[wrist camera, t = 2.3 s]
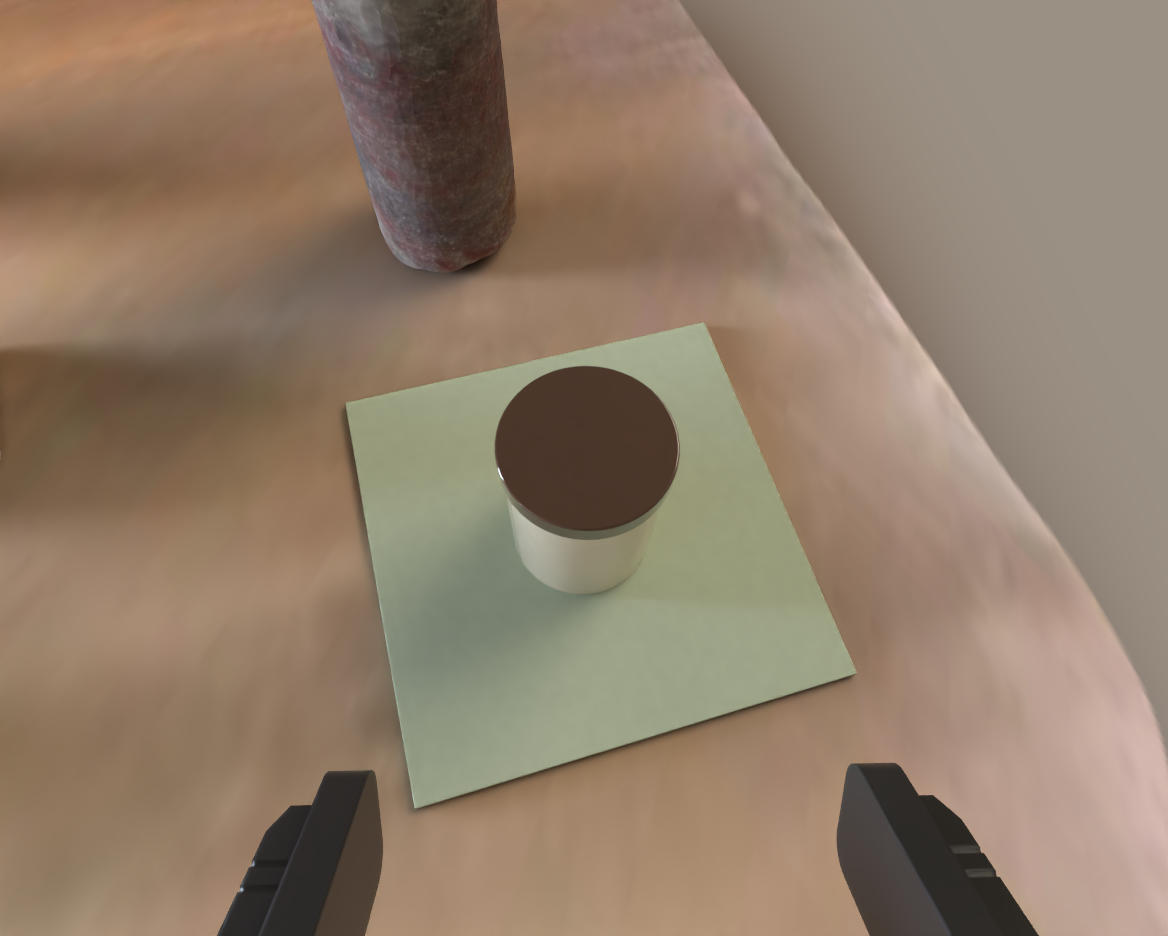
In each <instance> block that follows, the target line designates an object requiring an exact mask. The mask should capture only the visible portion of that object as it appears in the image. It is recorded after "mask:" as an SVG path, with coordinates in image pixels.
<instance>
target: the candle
mask: <svg viewBox="0 0 1168 936" xmlns="http://www.w3.org/2000/svg"><path fill="white" fill-rule="evenodd" d="M312 3H313V6H314V9H315V12H316V16H317V20H318V23H319V26H320V29H321V32H322V35H323V39H324V42H325V46H326V49H327V53H328V57H329V60H330V63H331V67H332V70H333V73H334V76H335V80H336V83H337V86H338V89H339V92H340V96H341V99H342V102H343V105H344V109H345V113H346V116H347V120H348V123H349V127H350V130H351V134H352V137H353V141H354V144H355V147H356V151H357V154H358V157H359V161H360V164H361V167H362V171H363V174H364V177H365V181H366V184H367V188H368V191H369V194H370V196H371V199H372V203H373V207H374V210H375V213H376V216H377V219H378V222H379V226H380V229H381V231H382V233H383V236H384V238H385V240H386V242H387V244H388V247H389V249H390V250H391V252H392V253H393V254H394V256H395V257H396V258H397V259H398V260H400V261H401V262H403V263H404V264H406V265H408V266H410V267H412V268H416V269H421V270H429V271H434V272H441V273H451V272H454V271H456V270H459V269H461V268H462V267H464V266H465V265H467V264H471V263H474V262H476V261H477V260H480V259H482V258H484V257H486V256H489V255H491V254H493V253H495V252H497V251H498V249H499V248H500V247H501V245H502V244H503V243H504V242H505V241H506V240H507V239H508V238H509V236H510V234H511V231H512V227H513V225H514V223H515V218H516V192H515V180H514V167H513V156H512V146H511V138H510V130H509V121H508V110H507V99H506V89H505V78H504V68H503V60H502V52H501V42H500V33H499V25H498V16H497V1H496V0H312Z"/></svg>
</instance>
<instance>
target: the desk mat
mask: <svg viewBox="0 0 1168 936" xmlns="http://www.w3.org/2000/svg"><path fill="white" fill-rule="evenodd" d="M575 366H597V367H604V368H609V369H613V370H616V371H619V372H622V373H625V374H627V375H629V376H632V377H633V378H635V379H637V380H638V381H640V382H642V383H643V384H645V385H646V386H647V387H649V388H650V389H651V390H652V391H653V392H654V393H655V394H656V395H657V396H658V397H659V398H660V399H661V400H662V402H663V403H664V404H665V405H666V407H667V409H668V410H669V412H670V414H671V415H672V418H673V420H674V422H675V424H676V428H677V431H678V435H679V442H680V459H679V465H678V469H677V472H676V475H675V478H674V481H673V485H672V488H671V490H670V492H669V494H668V496H667V498H666V499H665V501H664V502H663V504H662V505H661V508H660V511H659V515H658V518H657V521H656V524H655V527H654V531H653V534H652V537H651V540H650V543H649V546H648V549H647V553H646V555H645V557H644V559H643V561H642V562H641V564H640V565H639V567H638V568H637V569H636V571H635V572H634V573H633V574H632V575H631V576H630V577H629V578H627V579H626V580H625V581H624V582H622V583H620V584H619V585H617V586H615V587H613V588H611V589H609V590H606V591H603V592H599V593H593V594H571V593H566V592H562V591H559V590H556V589H554V588H552V587H550V586H548V585H546V584H544V583H543V582H541V581H540V580H538V579H537V578H536V577H535V576H534V575H533V574H532V573H531V572H530V571H529V570H528V569H527V568H526V566H525V565H524V563H523V562H522V560H521V559H520V556H519V554H518V552H517V549H516V546H515V543H514V537H513V531H512V525H511V520H510V514H509V508H508V503H507V497H506V494H505V492H504V490H503V487H502V485H501V482H500V479H499V476H498V471H497V466H496V460H495V453H494V442H495V435H496V430H497V427H498V423H499V421H500V418H501V416H502V414H503V412H504V410H505V409H506V407H507V406H508V404H509V402H510V401H511V400H512V399H513V398H514V397H515V395H516V394H517V393H518V392H519V391H521V390H522V389H523V388H524V387H525V386H526V385H528V384H529V383H531V382H532V381H533V380H535V379H537V378H539V377H541V376H543V375H545V374H547V373H550V372H552V371H555V370H559V369H563V368H568V367H575ZM345 404H346V410H347V416H348V422H349V428H350V433H351V439H352V445H353V451H354V457H355V463H356V468H357V474H358V480H359V486H360V492H361V498H362V504H363V509H364V515H365V521H366V527H367V533H368V539H369V544H370V550H371V556H372V562H373V568H374V574H375V579H376V585H377V591H378V597H379V603H380V609H381V614H382V620H383V626H384V632H385V638H386V644H387V649H388V655H389V661H390V667H391V673H392V679H393V684H394V690H395V696H396V702H397V708H398V714H399V719H400V725H401V731H402V737H403V743H404V749H405V754H406V760H407V766H408V772H409V778H410V784H411V789H412V795H413V801H414V807H415V809H418V808H421V807H425V806H428V805H431V804H434V803H438V802H441V801H444V800H447V799H451V798H454V797H457V796H460V795H464V794H467V793H470V792H474V791H477V790H480V789H483V788H487V787H490V786H493V785H496V784H500V783H503V782H506V781H509V780H513V779H516V778H519V777H522V776H526V775H529V774H532V773H535V772H539V771H542V770H545V769H549V768H552V767H555V766H558V765H562V764H565V763H568V762H571V761H575V760H578V759H581V758H584V757H588V756H591V755H594V754H597V753H601V752H604V751H607V750H610V749H614V748H617V747H620V746H624V745H627V744H630V743H633V742H637V741H640V740H643V739H646V738H650V737H653V736H656V735H659V734H663V733H666V732H669V731H672V730H676V729H679V728H682V727H685V726H689V725H692V724H695V723H699V722H702V721H705V720H708V719H712V718H715V717H718V716H721V715H725V714H728V713H731V712H734V711H738V710H741V709H744V708H747V707H751V706H754V705H757V704H760V703H764V702H767V701H770V700H774V699H777V698H780V697H783V696H787V695H790V694H793V693H796V692H800V691H803V690H806V689H809V688H813V687H816V686H819V685H822V684H826V683H829V682H832V681H835V680H839V679H842V678H845V677H849V676H852V675H855V674H857V672H856V670H855V667H854V665H853V663H852V661H851V658H850V656H849V654H848V651H847V649H846V647H845V645H844V642H843V640H842V638H841V635H840V633H839V631H838V628H837V626H836V624H835V622H834V619H833V617H832V615H831V612H830V610H829V608H828V605H827V603H826V601H825V599H824V596H823V594H822V592H821V589H820V587H819V585H818V583H817V580H816V578H815V576H814V573H813V571H812V569H811V566H810V564H809V562H808V560H807V557H806V555H805V553H804V550H803V548H802V546H801V544H800V541H799V539H798V537H797V534H796V532H795V530H794V527H793V525H792V523H791V521H790V518H789V516H788V514H787V511H786V509H785V507H784V504H783V502H782V500H781V498H780V495H779V493H778V491H777V488H776V486H775V484H774V482H773V479H772V477H771V475H770V472H769V470H768V468H767V465H766V463H765V461H764V459H763V456H762V454H761V452H760V449H759V447H758V445H757V442H756V440H755V438H754V436H753V433H752V431H751V429H750V426H749V424H748V422H747V420H746V417H745V415H744V413H743V410H742V408H741V406H740V403H739V401H738V399H737V397H736V394H735V392H734V390H733V387H732V385H731V383H730V381H729V378H728V376H727V374H726V371H725V369H724V367H723V364H722V362H721V360H720V358H719V355H718V353H717V351H716V348H715V346H714V344H713V341H712V339H711V337H710V335H709V332H708V330H707V328H706V325H705V323H699V324H695V325H690V326H686V327H682V328H677V329H673V330H668V331H664V332H659V333H655V334H650V335H646V336H641V337H637V338H632V339H628V340H624V341H619V342H615V343H610V344H606V345H601V346H597V347H592V348H588V349H583V350H579V351H575V352H570V353H566V354H561V355H557V356H552V357H548V358H543V359H539V360H534V361H530V362H525V363H521V364H517V365H512V366H508V367H503V368H499V369H494V370H490V371H485V372H481V373H476V374H472V375H468V376H463V377H459V378H454V379H450V380H445V381H441V382H436V383H432V384H427V385H423V386H418V387H414V388H410V389H405V390H401V391H396V392H392V393H387V394H383V395H378V396H374V397H369V398H365V399H360V400H356V401H352V402H347V403H345Z"/></svg>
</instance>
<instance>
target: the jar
mask: <svg viewBox="0 0 1168 936" xmlns="http://www.w3.org/2000/svg"><path fill="white" fill-rule="evenodd" d="M494 453H495V460H496V466H497V471H498V476H499V479H500V482H501V485H502V487H503V490H504V492H505V494H506V497H507V503H508V508H509V514H510V520H511V525H512V531H513V537H514V543H515V546H516V549H517V552H518V554H519V556H520V559H521V560H522V562H523V563H524V565H525V566H526V568H527V569H528V570H529V571H530V572H531V573H532V574H533V575H534V576H535V577H536V578H537V579H538V580H540V581H541V582H543V583H544V584H546V585H548V586H550V587H552V588H554V589H556V590H559V591H562V592H566V593H571V594H593V593H599V592H603V591H606V590H609V589H611V588H613V587H615V586H617V585H619V584H620V583H622V582H624V581H625V580H626V579H627V578H629V577H630V576H631V575H632V574H633V573H634V572H635V571H636V569H637V568H638V567H639V565H640V564H641V562H642V561H643V559H644V557H645V555H646V553H647V549H648V546H649V543H650V540H651V537H652V534H653V531H654V527H655V524H656V521H657V518H658V515H659V511H660V508H661V505H662V504H663V502H664V501H665V499H666V498H667V496H668V494H669V492H670V490H671V488H672V485H673V481H674V478H675V475H676V472H677V469H678V465H679V459H680V442H679V435H678V431H677V428H676V424H675V422H674V420H673V418H672V415H671V414H670V412H669V410H668V409H667V407H666V405H665V404H664V403H663V402H662V400H661V399H660V398H659V397H658V396H657V395H656V394H655V393H654V392H653V391H652V390H651V389H650V388H649V387H647V386H646V385H645V384H643V383H642V382H640V381H638V380H637V379H635V378H633V377H632V376H629V375H627V374H625V373H622V372H619V371H616V370H613V369H609V368H604V367H597V366H575V367H568V368H563V369H559V370H555V371H552V372H550V373H547V374H545V375H543V376H541V377H539V378H537V379H535V380H533V381H532V382H531V383H529V384H528V385H526V386H525V387H524V388H523V389H522V390H521V391H519V392H518V393H517V394H516V395H515V397H514V398H513V399H512V400H511V401H510V402H509V404H508V406H507V407H506V409H505V410H504V412H503V414H502V416H501V418H500V421H499V423H498V427H497V430H496V435H495V442H494Z"/></svg>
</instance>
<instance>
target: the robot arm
mask: <svg viewBox="0 0 1168 936" xmlns="http://www.w3.org/2000/svg"><path fill="white" fill-rule="evenodd" d="M837 851H838V857H839V862H840V866H841V869H842V872H843V875H844V877H845V879H846V882H847V884H848V886H849V889H850V891H851V893H852V896H853V898H854V900H855V903H856V905H857V907H858V910H859V912H860V914H861V917H862V919H863V921H864V923H865V926H866V928H867V930H868V933H869V935H870V936H1039V935H1038V934H1037V932H1036V931H1035V929H1034V928H1033V926H1032V925H1031V923H1030V922H1029V920H1028V919H1027V917H1026V916H1025V914H1024V913H1023V911H1022V910H1021V908H1020V907H1019V905H1018V904H1017V902H1016V901H1015V899H1014V898H1013V896H1012V895H1011V893H1010V892H1009V890H1008V889H1007V887H1006V886H1005V884H1004V883H1003V881H1002V880H1001V878H1000V877H997V876H996V871H995V869H994V868H993V866H992V865H991V863H990V862H989V860H988V859H987V857H986V856H985V854H984V853H981V851H980V847H979V845H978V844H977V842H976V841H975V839H974V838H973V836H972V835H971V833H970V832H969V830H968V829H967V827H966V826H965V824H964V823H963V821H962V819H960V818H959V817H958V816H957V815H956V814H954V813H953V812H952V811H951V810H950V809H949V808H947V807H946V806H945V805H944V804H943V803H942V802H940V801H939V800H938V799H937V798H936V797H934V796H933V795H923V796H919V795H918V794H917V792H916V791H915V789H914V787H913V786H912V784H911V783H910V781H909V779H908V778H907V776H906V774H905V773H904V771H903V770H902V768H901V767H900V766H899V765H898V764H896V763H862V764H851V765H849V767H848V769H847V773H846V778H845V784H844V791H843V797H842V803H841V810H840V816H839V822H838V828H837ZM382 857H383V838H382V828H381V819H380V810H379V800H378V791H377V781H376V776H375V773H374V771H372V770H365V771H328V772H327V773H326V774H325V776H324V778H323V780H322V782H321V784H320V787H319V789H318V792H317V794H316V797H315V799H314V801H313V804H312V805H302V806H290V807H289V808H288V809H287V810H286V811H285V812H284V813H283V814H282V815H281V816H280V817H279V819H278V820H277V821H276V822H275V823H274V824H273V825H272V826H271V827H270V828H269V829H268V830H267V831H266V832H265V835H264V837H263V839H262V841H261V843H260V845H259V847H258V849H257V852H256V854H255V856H254V858H253V860H252V866H251V867H249V869H248V871H247V873H246V875H245V877H244V879H243V881H242V884H241V886H240V892H237V894H236V896H235V898H234V901H233V903H232V905H231V907H230V909H229V911H228V913H227V916H226V918H225V920H224V922H223V924H222V926H221V928H220V930H219V933H218V935H217V936H365V933H366V929H367V925H368V922H369V918H370V914H371V910H372V907H373V903H374V899H375V895H376V892H377V888H378V884H379V879H380V874H381V867H382Z"/></svg>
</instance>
